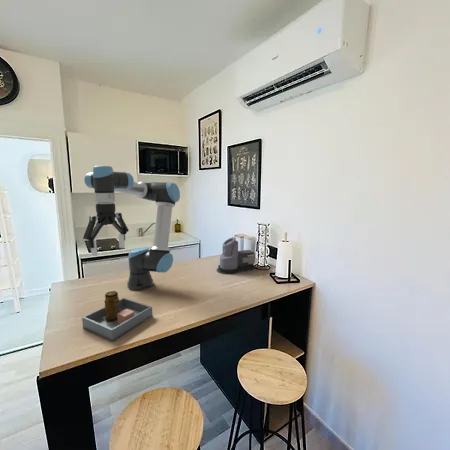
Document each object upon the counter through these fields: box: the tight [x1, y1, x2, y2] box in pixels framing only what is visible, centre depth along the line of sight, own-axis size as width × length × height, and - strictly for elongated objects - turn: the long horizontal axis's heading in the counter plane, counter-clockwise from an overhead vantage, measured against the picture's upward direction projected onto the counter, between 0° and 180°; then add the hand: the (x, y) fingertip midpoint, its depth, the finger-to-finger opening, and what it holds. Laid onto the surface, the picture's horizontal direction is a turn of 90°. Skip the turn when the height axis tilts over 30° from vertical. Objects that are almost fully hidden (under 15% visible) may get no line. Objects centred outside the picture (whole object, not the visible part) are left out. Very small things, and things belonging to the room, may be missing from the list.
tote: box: [81, 297, 153, 342], centre depth 111 cm, size 20×22×5 cm
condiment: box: [102, 290, 120, 324], centre depth 112 cm, size 7×8×12 cm
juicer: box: [216, 236, 257, 275], centre depth 180 cm, size 30×16×24 cm, turn 112°
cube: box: [117, 309, 134, 324], centre depth 109 cm, size 5×5×5 cm
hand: (109, 251), depth 108 cm, fingers open, 13 cm apart
